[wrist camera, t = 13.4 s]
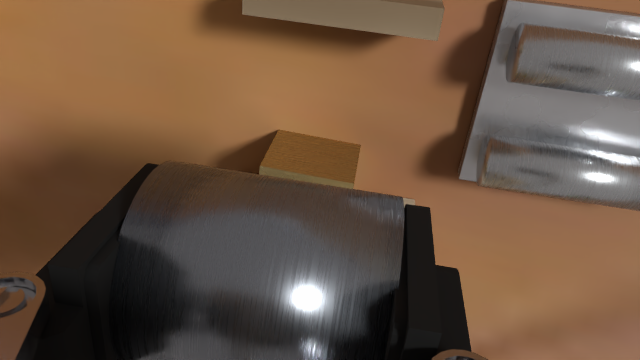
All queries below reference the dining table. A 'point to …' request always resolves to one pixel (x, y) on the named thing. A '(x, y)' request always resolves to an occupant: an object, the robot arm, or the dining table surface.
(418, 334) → the robot arm
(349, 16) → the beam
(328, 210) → the dark grey short cylinder
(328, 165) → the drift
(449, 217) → the dining table surface
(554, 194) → the v block
